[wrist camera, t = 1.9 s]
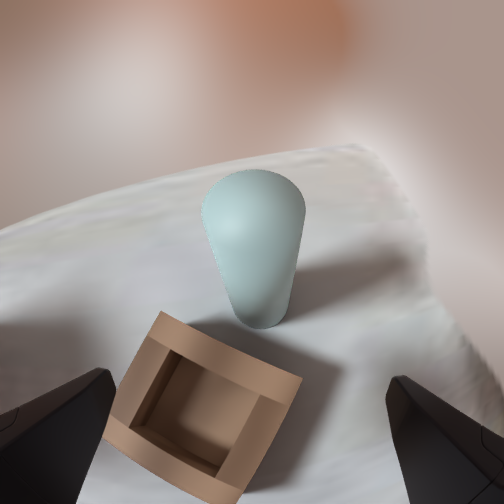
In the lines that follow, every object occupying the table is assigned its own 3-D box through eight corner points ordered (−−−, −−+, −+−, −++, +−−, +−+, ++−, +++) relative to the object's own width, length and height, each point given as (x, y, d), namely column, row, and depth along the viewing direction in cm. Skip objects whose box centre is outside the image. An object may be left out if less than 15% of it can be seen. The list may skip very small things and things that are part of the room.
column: (296, 289, 24) (319, 187, 13) (274, 337, 22) (281, 269, 11) (247, 269, 25) (231, 160, 14) (223, 315, 23) (182, 229, 12)
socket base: (296, 381, 20) (303, 378, 17) (236, 494, 16) (230, 512, 12) (177, 325, 23) (160, 310, 19) (120, 429, 18) (95, 432, 15)
